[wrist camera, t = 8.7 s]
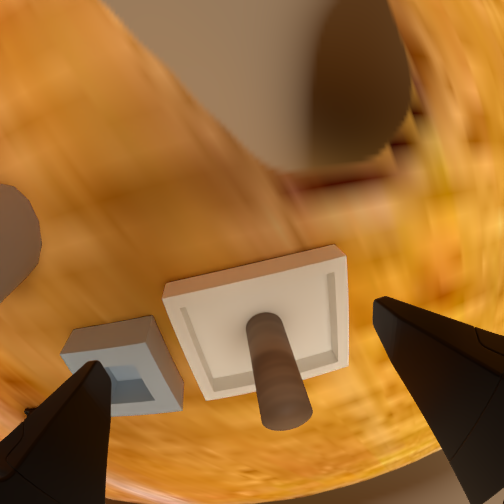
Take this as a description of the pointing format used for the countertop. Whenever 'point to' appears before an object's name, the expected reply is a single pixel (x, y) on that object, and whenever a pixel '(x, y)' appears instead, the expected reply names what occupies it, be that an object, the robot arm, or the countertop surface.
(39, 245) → the cup
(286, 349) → the dowel
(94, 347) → the grey square peg base
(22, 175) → the countertop surface
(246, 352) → the tray
